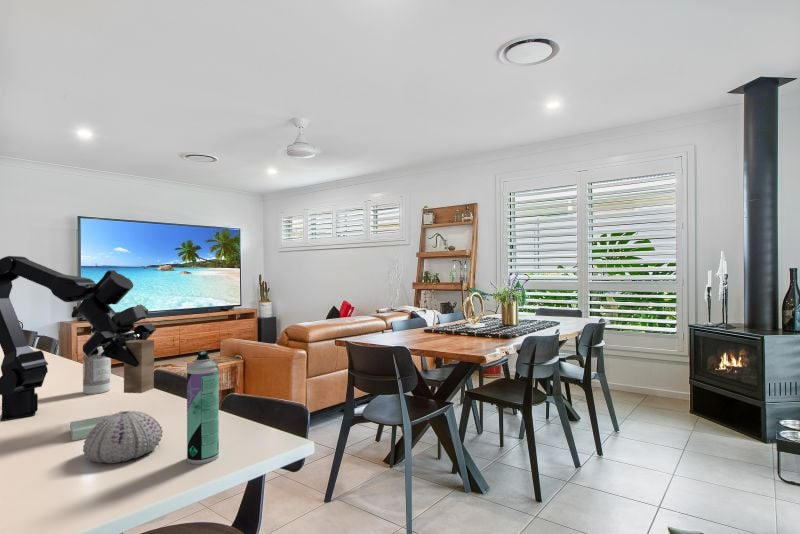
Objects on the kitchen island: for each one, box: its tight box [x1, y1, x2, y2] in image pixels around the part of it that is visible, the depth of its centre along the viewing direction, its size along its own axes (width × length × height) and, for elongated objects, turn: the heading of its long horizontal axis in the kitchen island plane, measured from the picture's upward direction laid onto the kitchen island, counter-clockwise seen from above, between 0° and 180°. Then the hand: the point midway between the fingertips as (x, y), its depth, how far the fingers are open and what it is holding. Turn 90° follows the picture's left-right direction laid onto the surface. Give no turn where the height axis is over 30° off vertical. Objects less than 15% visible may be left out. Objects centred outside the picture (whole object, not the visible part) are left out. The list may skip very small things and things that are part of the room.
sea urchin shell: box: [82, 410, 164, 464], centre depth 88 cm, size 13×14×8 cm
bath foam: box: [82, 325, 112, 395], centre depth 136 cm, size 7×7×20 cm
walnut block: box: [123, 339, 155, 394], centre depth 109 cm, size 4×4×12 cm
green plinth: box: [69, 414, 111, 442], centre depth 100 cm, size 8×8×2 cm
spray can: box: [186, 351, 220, 465], centre depth 85 cm, size 6×6×20 cm
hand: (144, 363), depth 109 cm, fingers closed on walnut block, 4 cm apart
